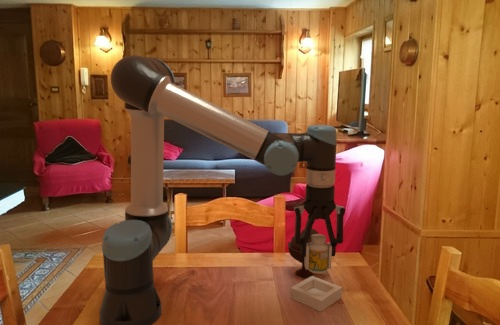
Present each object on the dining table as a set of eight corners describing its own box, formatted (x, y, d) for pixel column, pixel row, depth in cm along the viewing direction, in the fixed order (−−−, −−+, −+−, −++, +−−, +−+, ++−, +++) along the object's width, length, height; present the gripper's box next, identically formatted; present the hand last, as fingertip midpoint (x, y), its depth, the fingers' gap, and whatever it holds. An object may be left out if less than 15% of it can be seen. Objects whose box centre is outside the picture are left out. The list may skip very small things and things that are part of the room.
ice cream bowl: (305, 263, 137) (307, 220, 134) (329, 276, 128) (331, 230, 125) (280, 271, 131) (280, 226, 128) (303, 285, 122) (304, 237, 119)
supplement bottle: (331, 271, 113) (333, 237, 111) (316, 276, 110) (318, 241, 108) (318, 263, 117) (319, 231, 115) (303, 268, 114) (304, 235, 112)
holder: (290, 298, 115) (290, 287, 114) (311, 285, 122) (312, 275, 121) (320, 311, 108) (321, 300, 108) (341, 297, 115) (341, 287, 115)
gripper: (286, 188, 105) (285, 273, 109) (359, 187, 105) (354, 272, 110) (283, 181, 112) (282, 261, 117) (351, 180, 113) (347, 261, 117)
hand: (317, 267), depth 113 cm, fingers closed on supplement bottle, 5 cm apart
